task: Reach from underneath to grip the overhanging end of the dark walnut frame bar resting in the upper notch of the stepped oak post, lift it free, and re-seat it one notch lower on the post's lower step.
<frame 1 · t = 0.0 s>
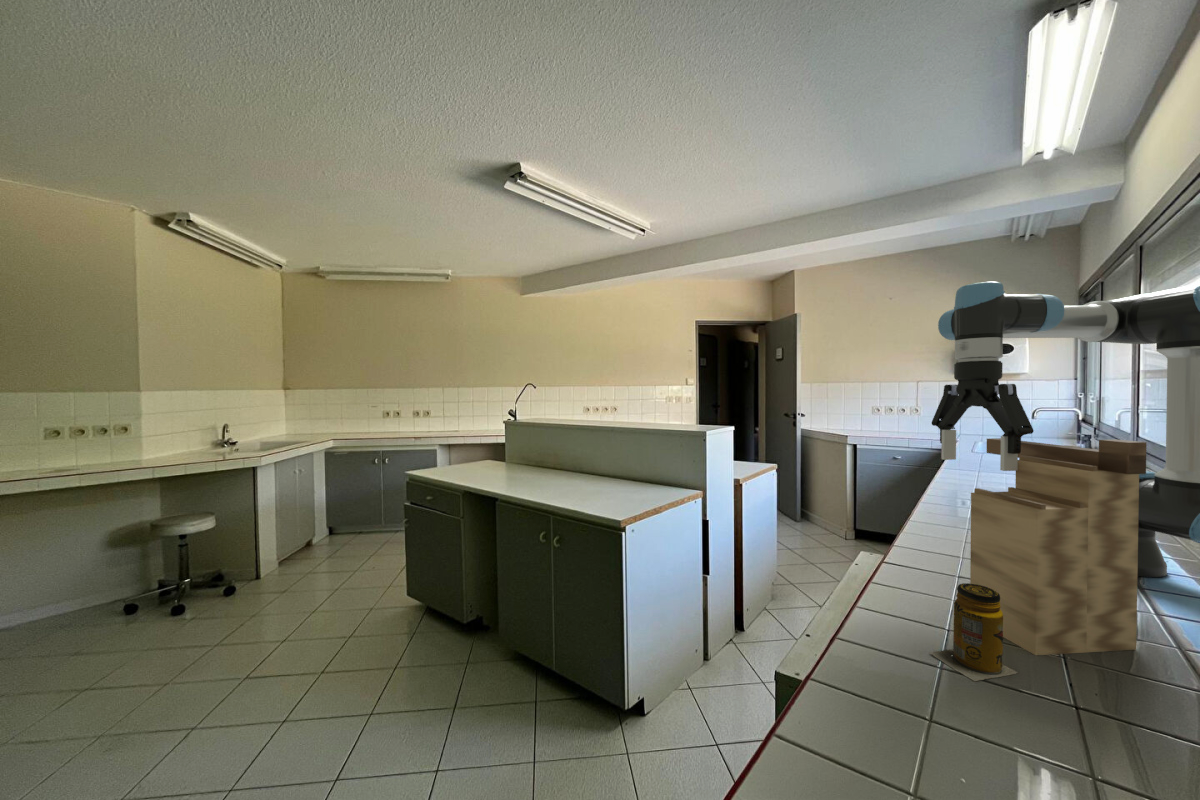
hand: (976, 464, 92), 28 cm above the countertop, tool pointing down, fingers open, 13 cm apart
condiment: (972, 665, 72), on the countertop
notch post: (1047, 632, 80), on the countertop
frame bar: (1054, 461, 83), point 30 cm above the countertop, touching notch post
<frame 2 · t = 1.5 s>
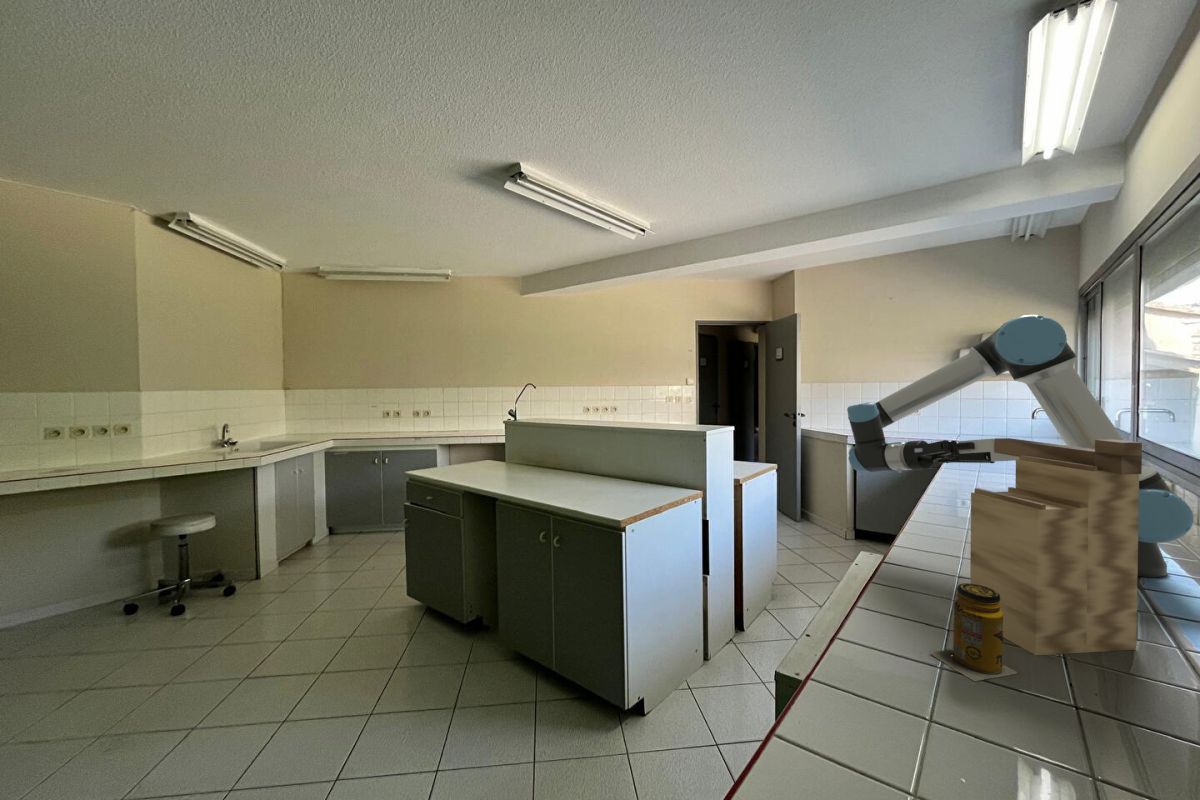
hand: (1010, 449, 99), 30 cm above the countertop, tool horizontal, fingers open, 13 cm apart
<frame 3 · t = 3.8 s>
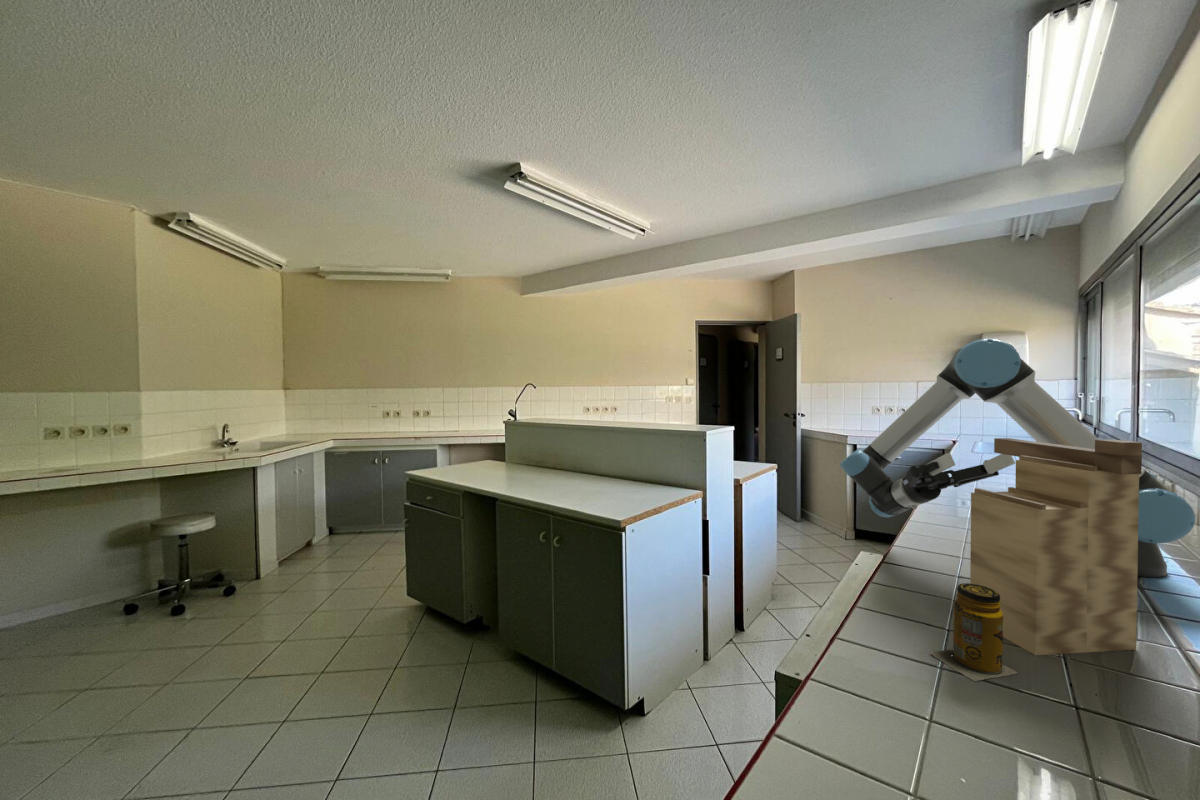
hand: (981, 458, 97), 28 cm above the countertop, tool pointing upward, fingers open, 13 cm apart
nothing on the countertop moved.
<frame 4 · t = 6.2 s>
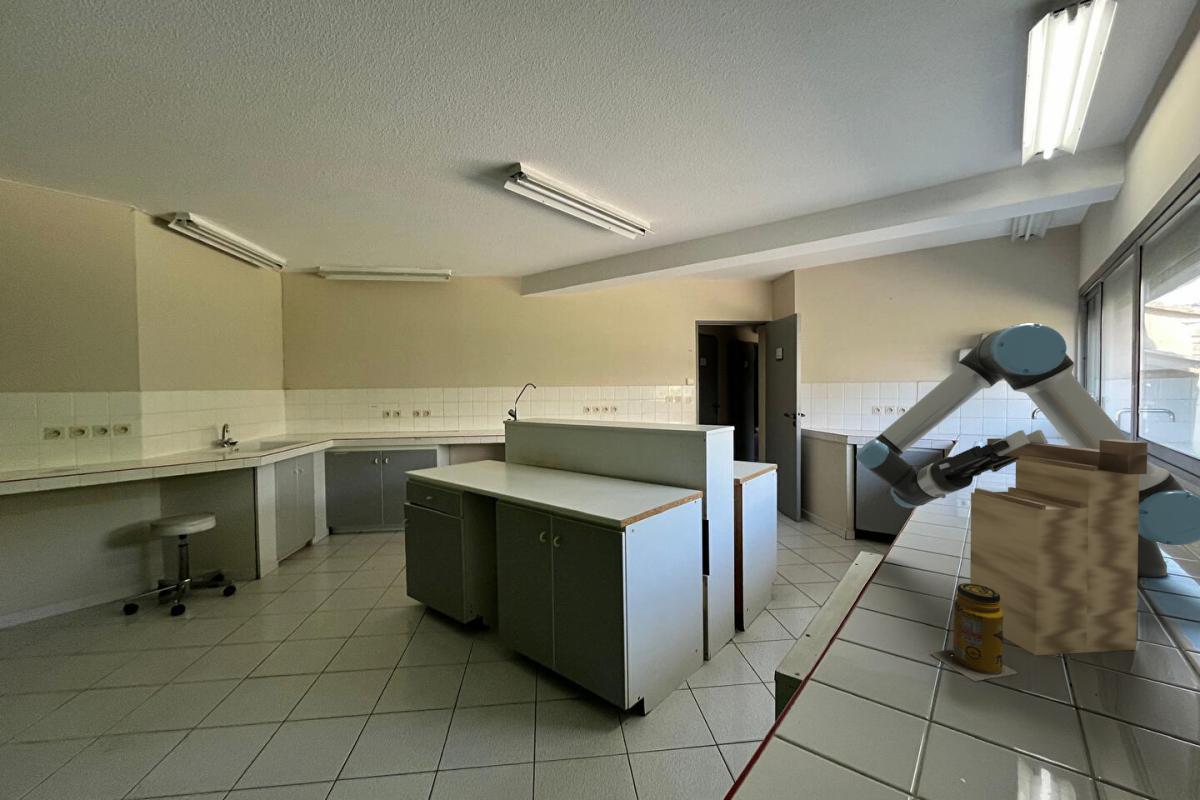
hand: (1033, 436, 86), 34 cm above the countertop, tool pointing upward, fingers closed on frame bar, 3 cm apart
frame bar: (1055, 461, 82), point 30 cm above the countertop, touching gripper, notch post
everything else where it was.
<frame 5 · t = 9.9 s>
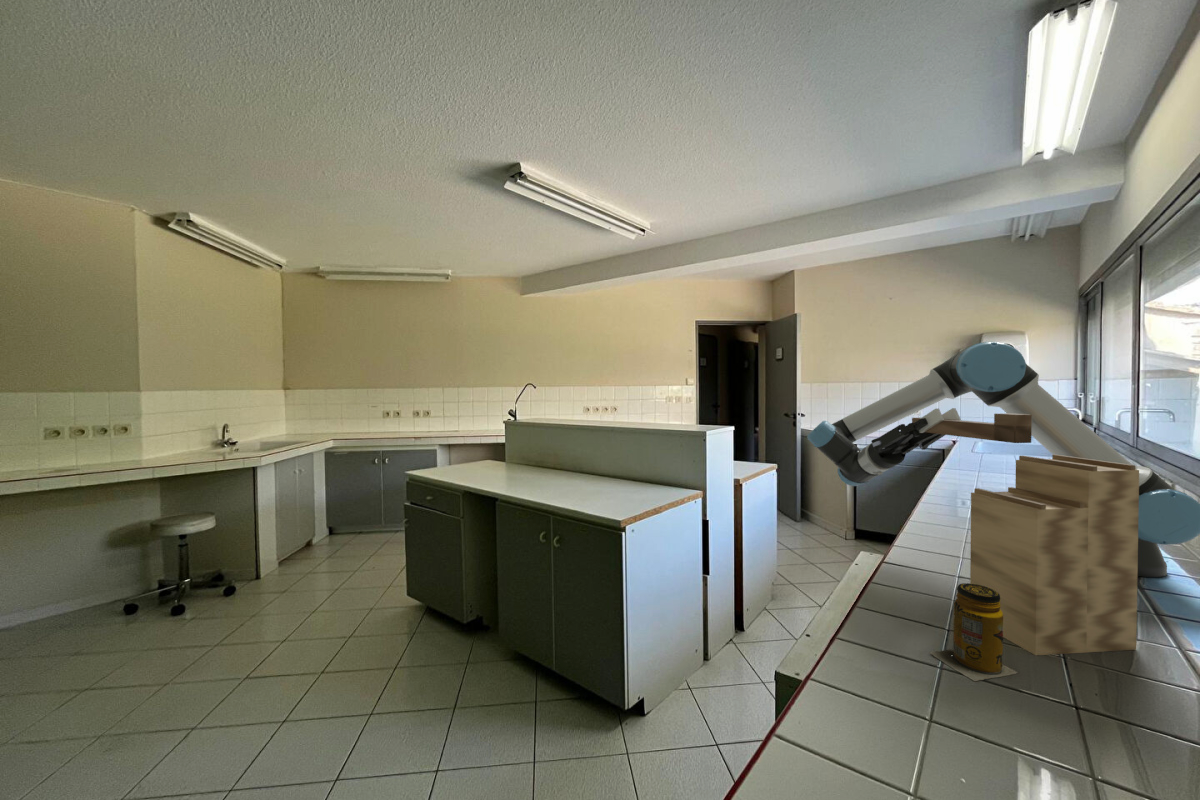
hand: (948, 414, 95), 38 cm above the countertop, tool pointing upward, fingers closed on frame bar, 3 cm apart
frame bar: (963, 436, 91), point 34 cm above the countertop, touching gripper
everything else where it was.
when the fingers open (30 cm above the countertop, at t = 13.6 s): frame bar drops 2 cm, resting on notch post.
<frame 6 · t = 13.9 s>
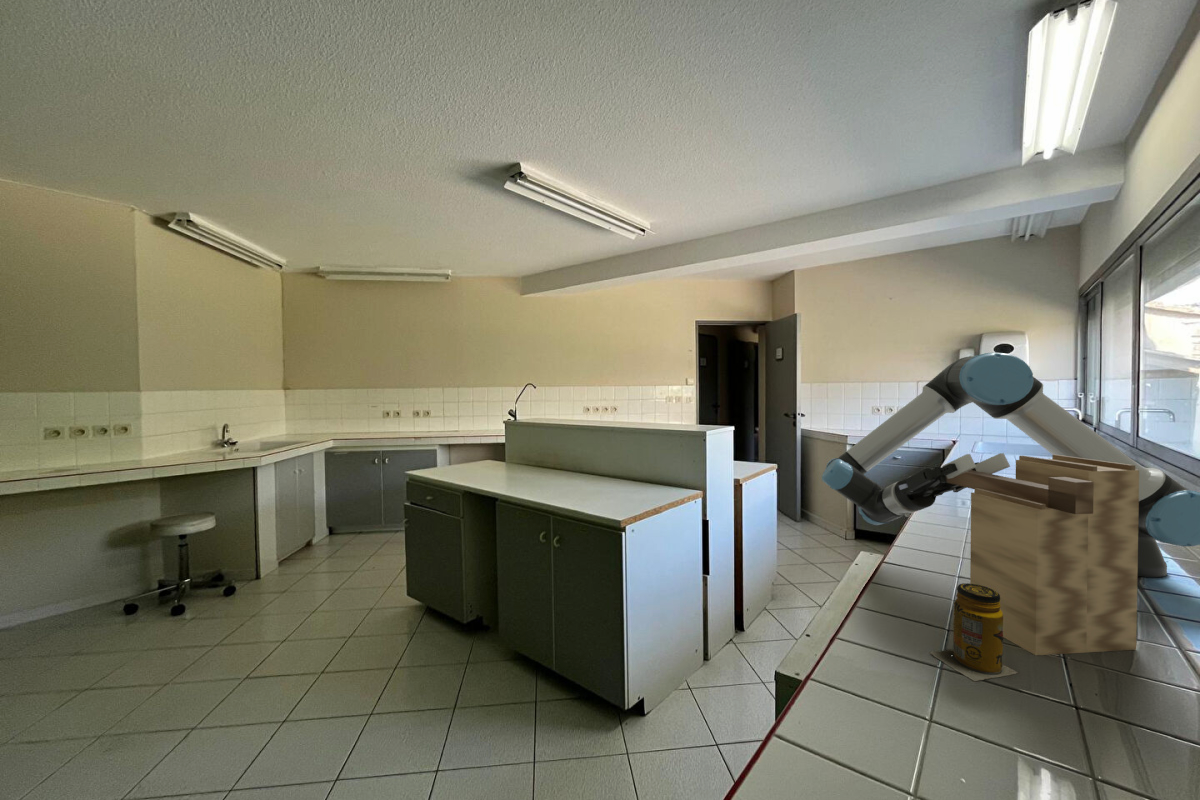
hand: (988, 460, 86), 30 cm above the countertop, tool pointing upward, fingers open, 6 cm apart
frame bar: (1009, 495, 82), point 24 cm above the countertop, touching notch post
everything else where it was.
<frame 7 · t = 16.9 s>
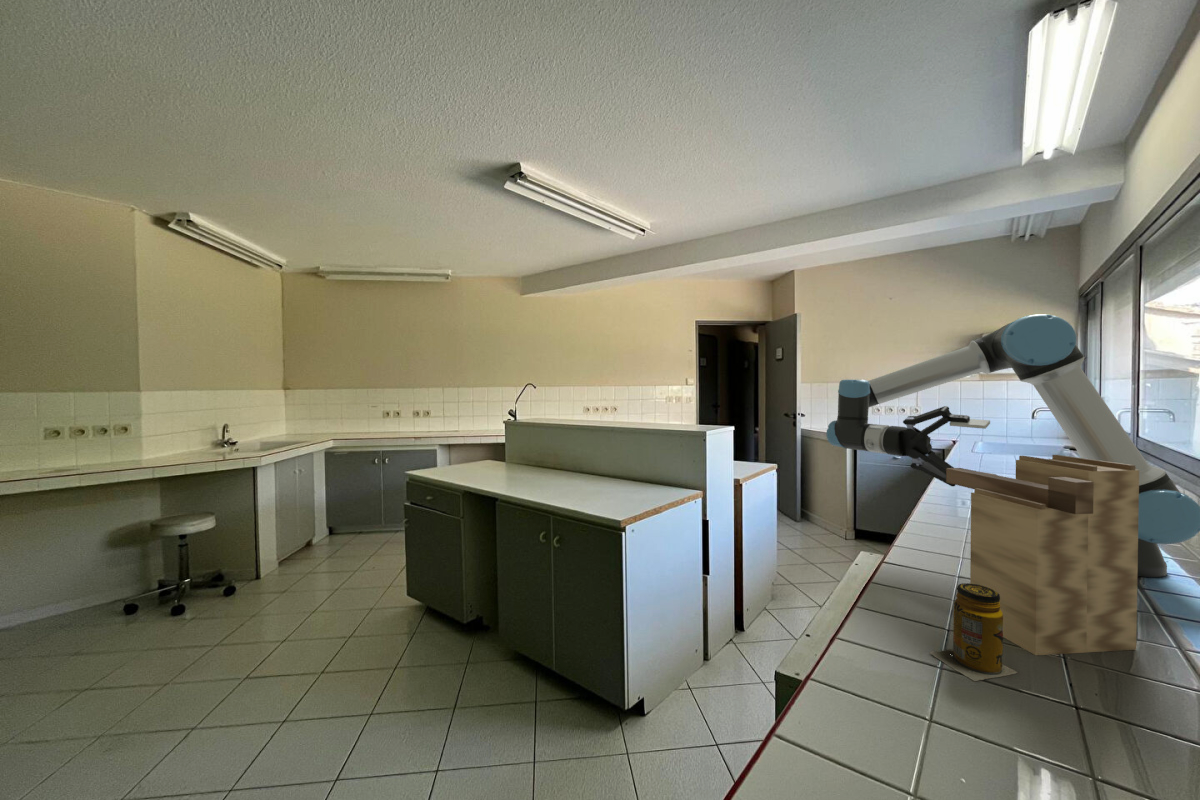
hand: (991, 452, 99), 29 cm above the countertop, tool horizontal, fingers open, 13 cm apart
nothing on the countertop moved.
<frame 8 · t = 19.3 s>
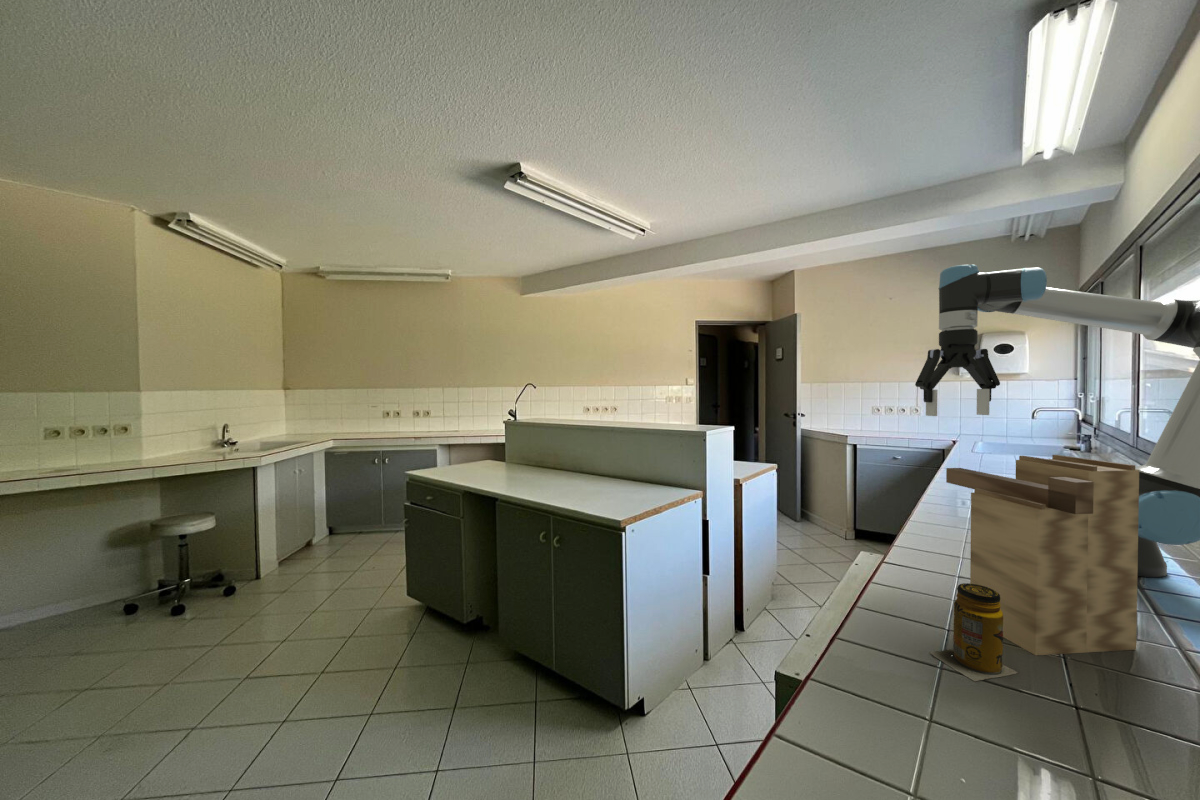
hand: (957, 415, 112), 37 cm above the countertop, tool pointing down, fingers open, 13 cm apart
nothing on the countertop moved.
at the end: frame bar inside the target area (0.0 cm from its centre), point 24.0 cm above the countertop; the gripper is holding nothing; frame bar touching notch post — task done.
